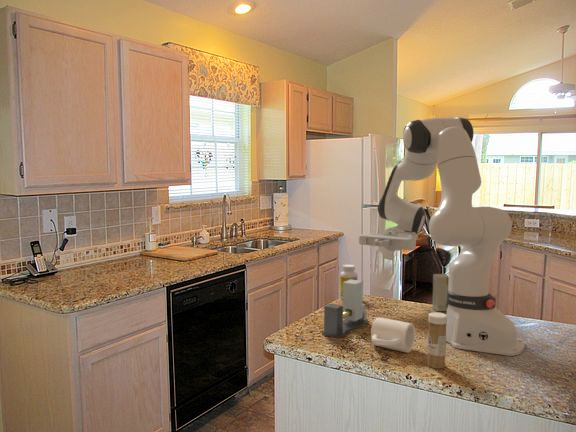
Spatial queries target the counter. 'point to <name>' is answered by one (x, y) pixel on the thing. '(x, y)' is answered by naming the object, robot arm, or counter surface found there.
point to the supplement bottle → (347, 276)
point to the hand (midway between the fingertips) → (377, 243)
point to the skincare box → (440, 291)
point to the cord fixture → (340, 321)
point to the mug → (393, 334)
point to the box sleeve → (353, 299)
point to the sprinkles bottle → (437, 340)
